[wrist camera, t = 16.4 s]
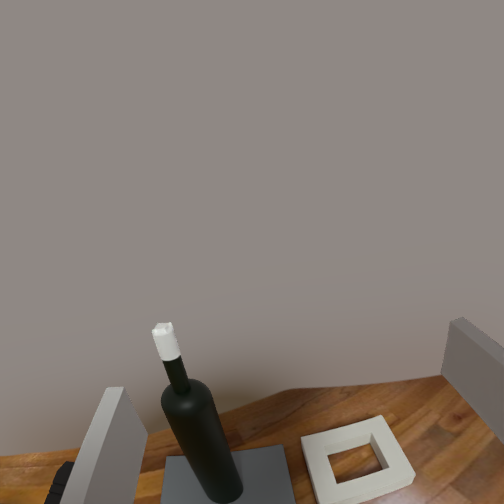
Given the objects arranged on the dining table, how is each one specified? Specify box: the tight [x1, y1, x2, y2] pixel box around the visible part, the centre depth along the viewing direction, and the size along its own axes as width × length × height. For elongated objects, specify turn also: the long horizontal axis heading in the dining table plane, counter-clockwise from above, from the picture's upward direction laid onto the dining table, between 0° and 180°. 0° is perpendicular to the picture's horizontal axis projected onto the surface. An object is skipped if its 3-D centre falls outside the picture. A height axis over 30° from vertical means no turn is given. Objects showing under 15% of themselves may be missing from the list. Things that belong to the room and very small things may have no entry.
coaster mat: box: [160, 444, 296, 504], centre depth 37 cm, size 20×16×1 cm
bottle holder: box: [301, 415, 416, 504], centre depth 38 cm, size 14×14×3 cm
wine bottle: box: [152, 322, 243, 504], centre depth 33 cm, size 6×6×30 cm
